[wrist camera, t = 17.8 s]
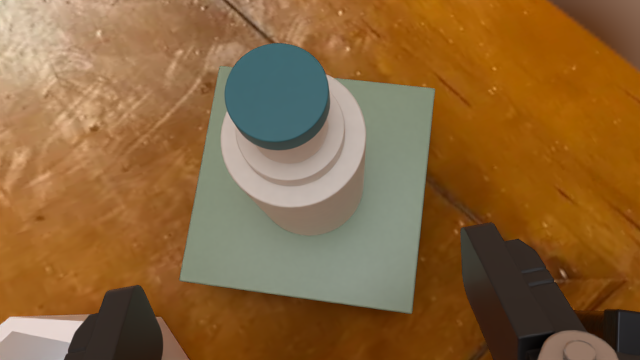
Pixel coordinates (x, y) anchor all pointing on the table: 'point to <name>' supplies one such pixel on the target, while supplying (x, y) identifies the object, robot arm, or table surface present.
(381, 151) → the low green table
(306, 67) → the bottle
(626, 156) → the table surface
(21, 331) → the mug
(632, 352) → the black tiered rack
